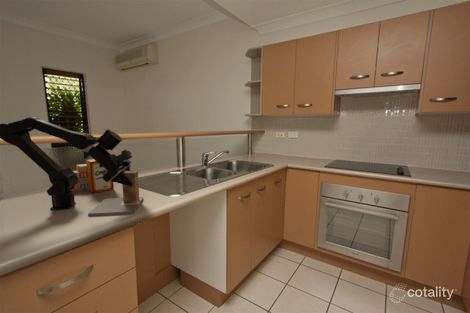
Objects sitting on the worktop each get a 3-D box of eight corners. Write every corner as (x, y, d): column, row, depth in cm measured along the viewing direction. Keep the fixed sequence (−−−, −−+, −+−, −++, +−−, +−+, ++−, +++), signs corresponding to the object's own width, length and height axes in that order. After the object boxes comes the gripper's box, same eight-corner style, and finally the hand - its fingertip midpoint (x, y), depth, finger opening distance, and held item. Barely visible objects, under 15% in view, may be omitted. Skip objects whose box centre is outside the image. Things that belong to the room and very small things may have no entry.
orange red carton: (58, 194, 107) (55, 169, 105) (56, 191, 111) (54, 166, 109) (108, 185, 122) (106, 163, 120) (104, 183, 126) (103, 161, 124)
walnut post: (123, 203, 93) (121, 173, 91) (127, 199, 98) (125, 170, 96) (136, 203, 94) (134, 173, 92) (139, 199, 99) (137, 170, 97)
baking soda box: (92, 193, 109) (90, 161, 106) (88, 190, 113) (86, 159, 110) (113, 189, 115) (111, 158, 113) (109, 186, 120) (107, 157, 117)
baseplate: (88, 216, 83) (87, 213, 83) (105, 200, 99) (105, 198, 99) (133, 213, 86) (133, 211, 86) (143, 199, 102) (143, 197, 102)
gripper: (109, 147, 82) (142, 175, 86) (125, 142, 101) (152, 165, 104) (88, 168, 82) (121, 195, 86) (107, 159, 100) (134, 182, 104)
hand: (134, 183), depth 95 cm, fingers open, 6 cm apart
